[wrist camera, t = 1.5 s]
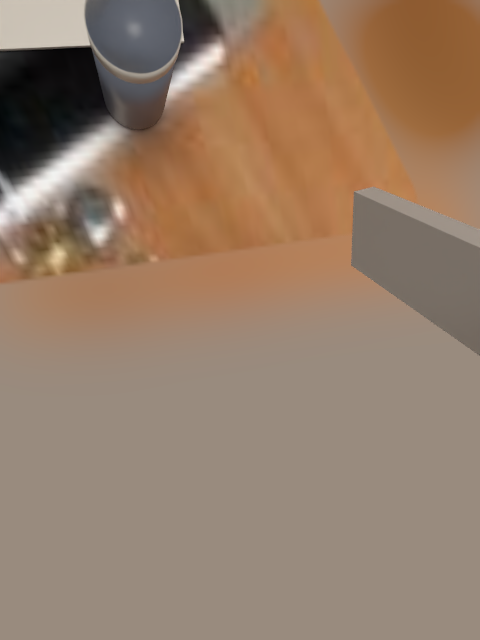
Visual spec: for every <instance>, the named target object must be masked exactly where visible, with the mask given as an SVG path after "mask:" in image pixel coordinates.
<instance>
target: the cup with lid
mask: <svg viewBox="0 0 480 640" xmlns="http://www.w3.org/2000/svg"><path fill="white" fill-rule="evenodd" d="M84 21H85V26H86V30H87V34H88V38H89V42H90V45H91V48H92V50H93V54H94V58H95V63H96V67H97V71H98V75H99V79H100V83H101V88H102V92H103V96H104V100H105V104H106V107H107V109H108V111H109V113H110V114H111V116H112V117H113V118H114V119H115V120H116V121H117V122H118V123H120V124H121V125H123V126H125V127H127V128H131V129H145V128H148V127H150V126H152V125H153V124H155V123H156V122H157V121H158V120H159V118H160V117H161V115H162V113H163V110H164V106H165V102H166V98H167V94H168V89H169V85H170V81H171V77H172V73H173V69H174V64H175V61H176V59H177V56H178V52H179V48H180V44H181V40H182V32H183V25H182V17H181V13H180V10H179V7H178V4H177V2H176V0H85V4H84Z"/></svg>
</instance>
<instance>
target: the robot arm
mask: <svg viewBox="0 0 480 640" xmlns="http://www.w3.org/2000/svg"><path fill="white" fill-rule="evenodd" d="M351 261H352V262H351V263H352V264H351V265H352V266H353V267H354V268H356V269H357V270H359V271H360V272H362V273H363V274H364V275H366V276H367V277H369V278H370V279H372V280H373V281H374V282H376V283H377V284H379V285H380V286H382V287H383V288H384V289H386V290H387V291H389V292H390V293H391V294H393V295H394V296H396V297H397V298H399V299H400V300H402V301H403V302H405V303H406V304H407V305H408V306H410V307H411V308H413V309H414V310H416V311H417V312H419V313H420V314H421V315H423V316H424V317H426V318H427V319H428V320H430V321H431V322H433V323H434V324H436V325H437V326H438V327H440V328H441V329H443V330H444V331H446V332H447V333H448V334H450V335H451V336H453V337H454V338H455V339H457V340H458V341H460V342H461V343H463V344H464V345H465V346H467V347H468V348H470V349H471V350H472V351H474V352H475V353H477V354H479V355H480V230H479V229H477V228H475V227H472V226H470V225H467V224H465V223H462V222H460V221H457V220H455V219H452V218H450V217H447V216H445V215H443V214H440V213H437V212H435V211H433V210H430V209H428V208H425V207H423V206H420V205H418V204H415V203H413V202H410V201H408V200H405V199H403V198H400V197H398V196H395V195H393V194H390V193H388V192H385V191H383V190H380V189H378V188H375V187H371V188H367V189H363V190H359V191H355V192H354V207H353V233H352V260H351Z"/></svg>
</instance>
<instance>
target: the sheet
mask: <svg viewBox="0 0 480 640" xmlns="http://www.w3.org/2000/svg"><path fill="white" fill-rule="evenodd" d="M176 2H177V4H178V7H179V1H178V0H176ZM84 4H85V0H0V51H15V50H38V49H61V48H84V47H91V45H90V42H89V38H88V34H87V30H86V26H85V21H84ZM179 10H180V9H179ZM181 43H184V37H183V32H182V40H181Z"/></svg>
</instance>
